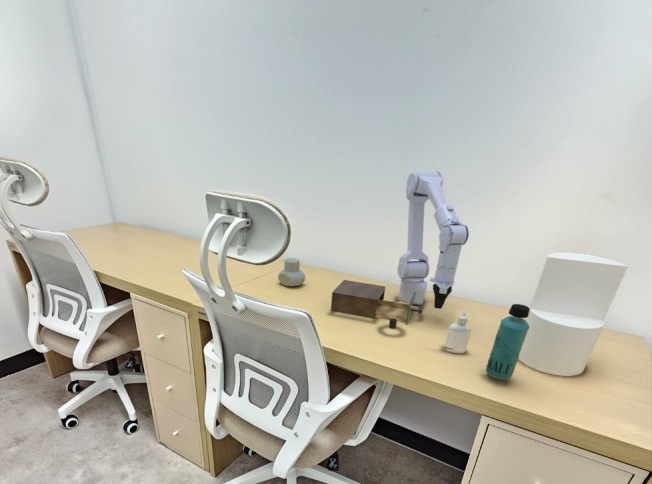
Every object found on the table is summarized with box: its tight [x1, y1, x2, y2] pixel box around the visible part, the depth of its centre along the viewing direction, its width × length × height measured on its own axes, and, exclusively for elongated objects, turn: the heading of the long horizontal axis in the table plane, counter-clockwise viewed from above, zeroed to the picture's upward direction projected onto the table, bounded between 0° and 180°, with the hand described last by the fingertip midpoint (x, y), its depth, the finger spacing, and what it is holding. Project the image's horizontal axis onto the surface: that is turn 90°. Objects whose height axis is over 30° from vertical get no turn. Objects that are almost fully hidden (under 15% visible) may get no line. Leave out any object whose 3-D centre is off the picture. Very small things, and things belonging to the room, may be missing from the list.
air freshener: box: [277, 257, 306, 288], centre depth 156 cm, size 11×8×10 cm
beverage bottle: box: [485, 303, 530, 380], centre depth 96 cm, size 6×7×20 cm
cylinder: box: [518, 251, 629, 377], centre depth 104 cm, size 17×17×28 cm
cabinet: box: [330, 279, 387, 319], centre depth 135 cm, size 15×14×8 cm
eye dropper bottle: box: [444, 311, 472, 354], centre depth 111 cm, size 4×6×12 cm
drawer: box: [375, 292, 426, 325], centre depth 131 cm, size 18×14×7 cm
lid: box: [388, 318, 398, 330], centre depth 122 cm, size 7×7×4 cm
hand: (437, 307), depth 126 cm, fingers closed
